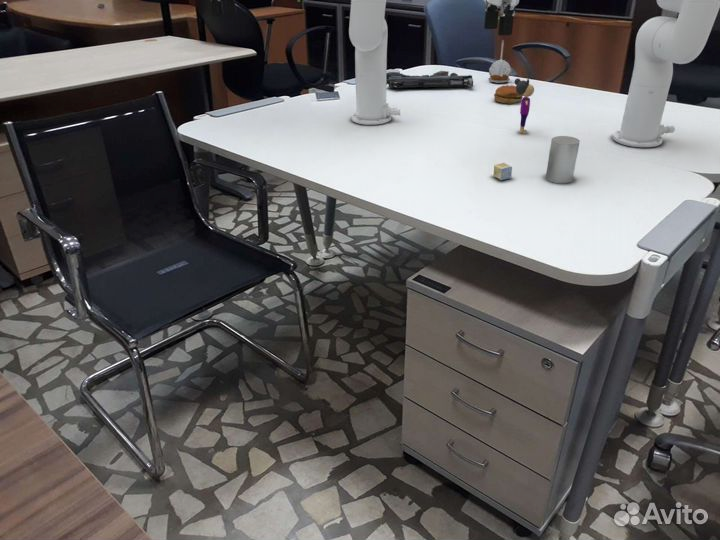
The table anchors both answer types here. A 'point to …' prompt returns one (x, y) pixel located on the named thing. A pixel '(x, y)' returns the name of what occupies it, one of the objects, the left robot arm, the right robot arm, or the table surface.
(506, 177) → the alphabet block
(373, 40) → the left robot arm
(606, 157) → the table surface
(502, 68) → the candy apple
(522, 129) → the toy
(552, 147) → the can
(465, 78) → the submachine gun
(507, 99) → the burger
